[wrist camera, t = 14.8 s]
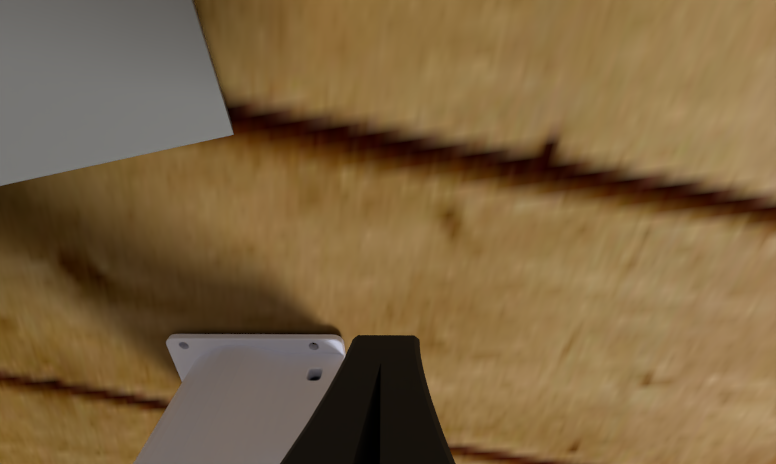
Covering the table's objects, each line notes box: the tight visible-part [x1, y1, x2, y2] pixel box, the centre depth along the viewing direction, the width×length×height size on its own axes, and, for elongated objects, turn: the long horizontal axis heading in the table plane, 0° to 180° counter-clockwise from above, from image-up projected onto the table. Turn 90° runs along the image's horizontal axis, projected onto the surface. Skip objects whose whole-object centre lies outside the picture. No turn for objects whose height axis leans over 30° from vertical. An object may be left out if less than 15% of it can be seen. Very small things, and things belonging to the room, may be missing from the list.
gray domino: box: [0, 0, 234, 186], centre depth 14 cm, size 2×5×8 cm
